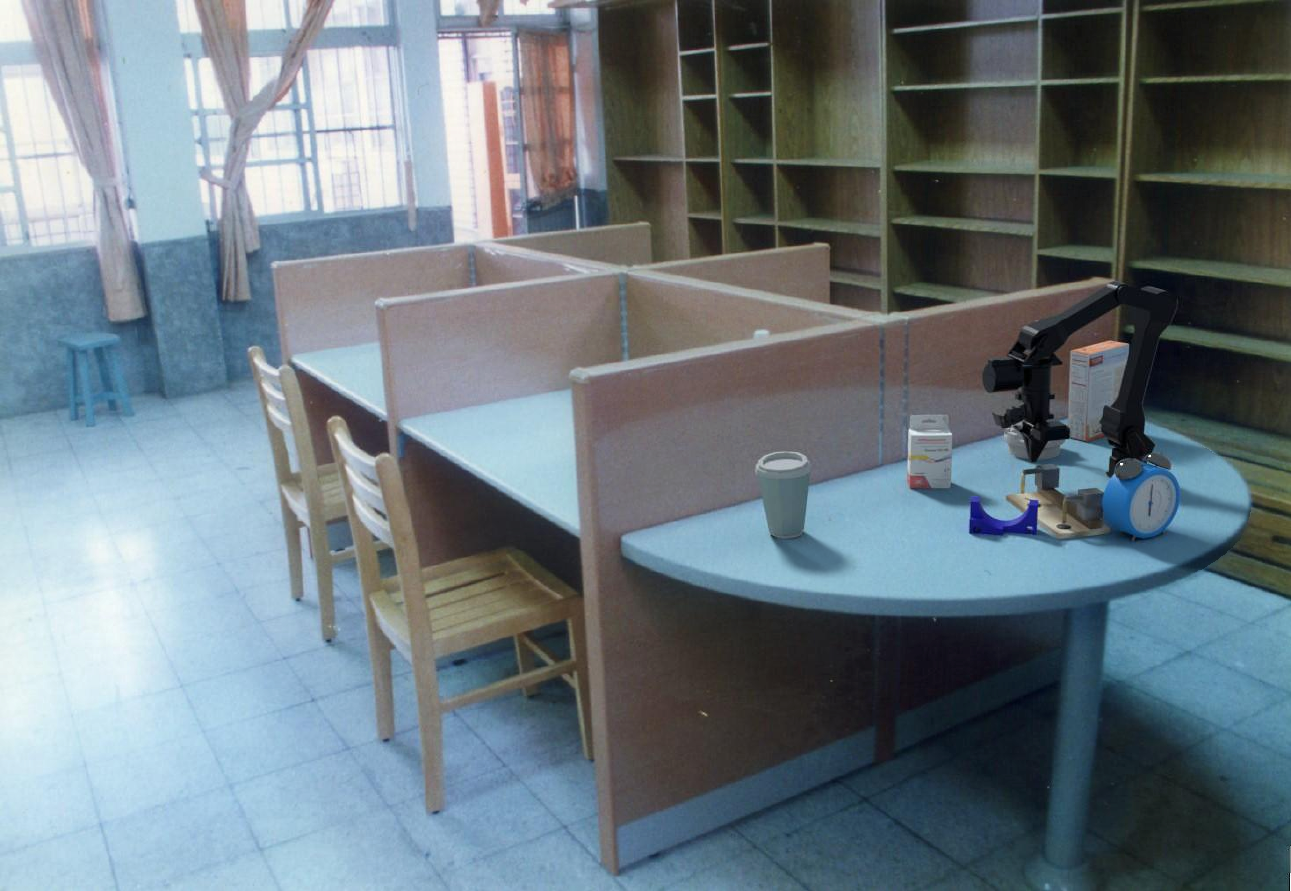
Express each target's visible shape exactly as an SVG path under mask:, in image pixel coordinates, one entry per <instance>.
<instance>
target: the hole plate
mask: <svg viewBox="0 0 1291 891" xmlns="http://www.w3.org/2000/svg"><path fill="white" fill-rule="evenodd" d="M1036 487H1037V486H1036ZM1103 495H1104V491H1102V490H1101V489H1099V488H1097V487H1091V488H1081V489H1077V494H1068V495H1065V494H1063V493H1062V492H1061V491H1059V490H1058V489H1057V488H1050V489H1040V488H1039V487H1037V488H1036V491H1034V492H1033V491H1032V492H1024V494H1021V493H1014V494H1013V493H1012V494H1006V495H1005V501H1007V502H1008V503H1009V504H1011V505H1012V506H1014V507H1015V508H1016V509H1017V510H1019V511H1020V512H1022V514H1024V512H1025V511H1026V510H1027V508H1028V506H1029V503H1030V500H1038V519H1037V525H1038V526H1040V527H1042V528H1043V529H1044V530H1045V531H1047V533H1050V534H1051V535H1052V536H1054V537H1055V538H1056V539H1057V540H1064V539H1075V538H1081V537H1082V538H1083V537H1090V536H1098V535H1099V536H1100V535H1109V534H1110V533H1111V528H1110V527H1108V525H1105V524H1104V523H1103V519H1104V512H1103V505H1102V504H1103ZM1075 501H1076V502H1075Z"/></svg>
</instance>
